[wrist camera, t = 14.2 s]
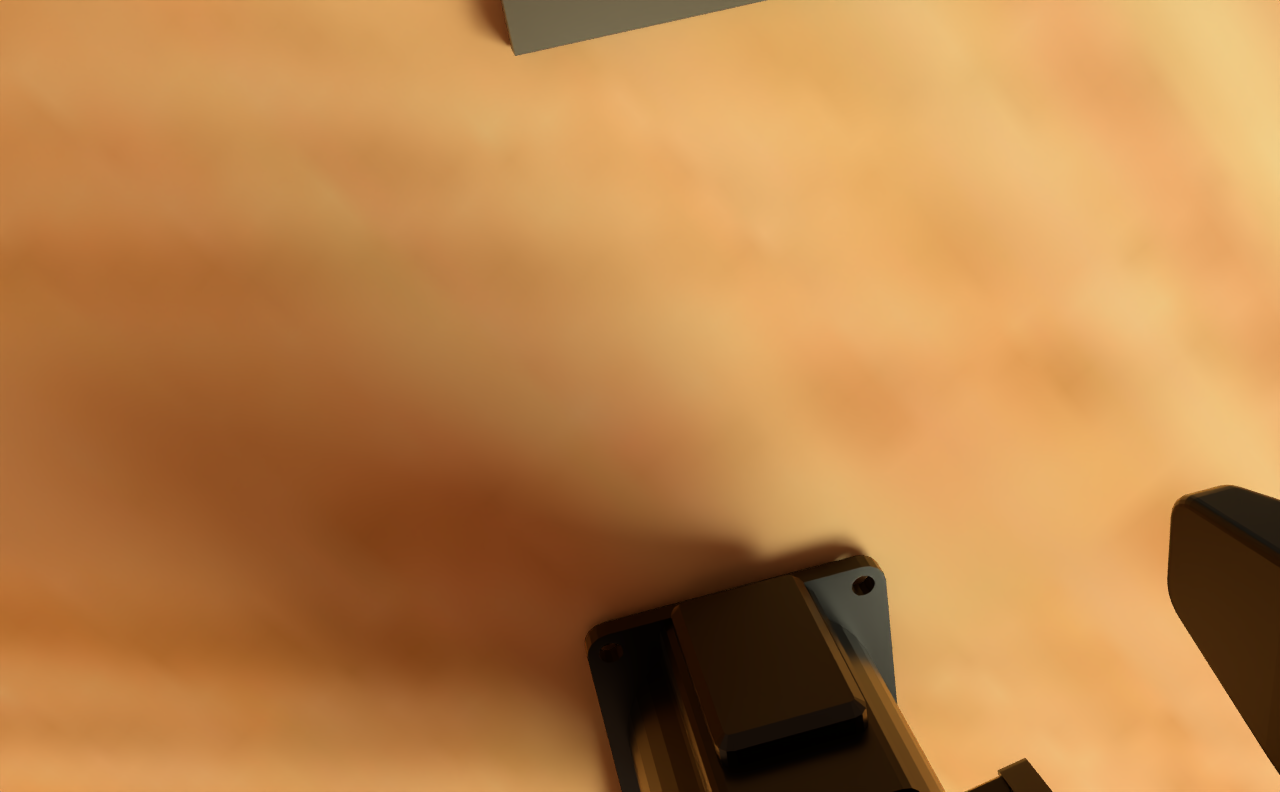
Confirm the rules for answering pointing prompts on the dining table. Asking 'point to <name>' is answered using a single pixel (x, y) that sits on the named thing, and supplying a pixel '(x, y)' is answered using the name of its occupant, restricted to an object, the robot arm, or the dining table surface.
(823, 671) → the robot arm
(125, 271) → the dining table surface
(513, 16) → the tray
